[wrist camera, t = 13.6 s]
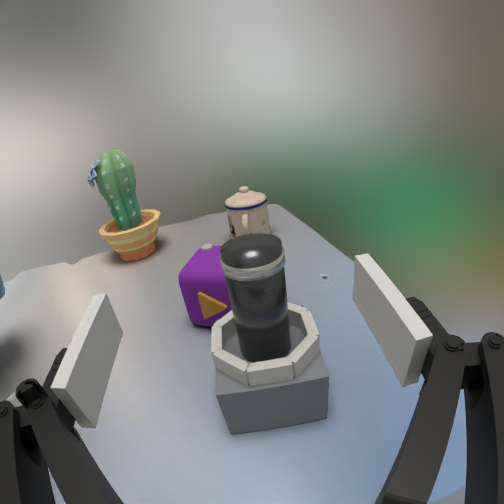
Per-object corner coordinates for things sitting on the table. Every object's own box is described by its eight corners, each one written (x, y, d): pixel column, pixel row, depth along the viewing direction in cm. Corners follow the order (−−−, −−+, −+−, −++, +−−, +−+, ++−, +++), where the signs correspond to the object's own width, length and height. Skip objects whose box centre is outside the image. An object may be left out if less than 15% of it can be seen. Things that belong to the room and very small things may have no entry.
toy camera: (284, 332, 43) (277, 269, 38) (187, 336, 45) (169, 277, 40) (283, 288, 52) (277, 232, 48) (202, 294, 54) (188, 241, 50)
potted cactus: (126, 240, 82) (102, 150, 71) (177, 236, 79) (155, 137, 68) (97, 269, 69) (65, 165, 58) (153, 266, 66) (123, 150, 55)
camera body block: (230, 434, 29) (211, 381, 25) (227, 362, 39) (212, 306, 35) (326, 418, 29) (329, 361, 25) (305, 349, 39) (302, 291, 35)
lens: (239, 368, 29) (216, 265, 24) (238, 333, 33) (219, 237, 29) (296, 360, 29) (287, 255, 24) (288, 326, 33) (278, 229, 29)
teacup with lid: (233, 231, 77) (225, 184, 72) (271, 227, 76) (265, 179, 71) (227, 255, 66) (217, 201, 61) (271, 250, 65) (264, 195, 60)
